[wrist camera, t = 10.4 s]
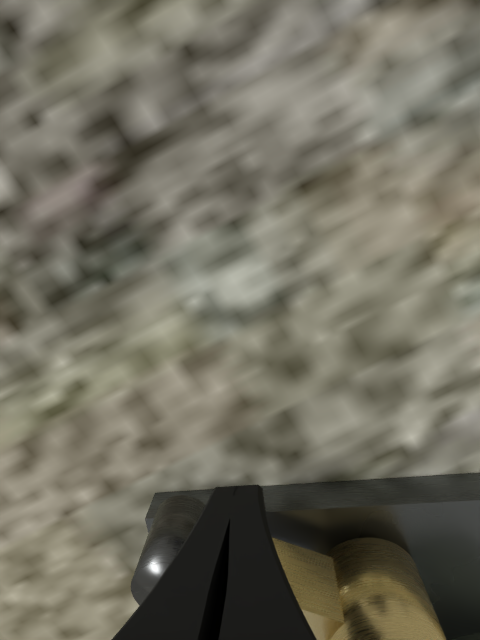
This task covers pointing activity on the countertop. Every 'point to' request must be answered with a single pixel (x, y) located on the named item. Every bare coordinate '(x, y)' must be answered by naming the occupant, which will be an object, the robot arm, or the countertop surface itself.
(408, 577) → the lever
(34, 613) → the countertop surface
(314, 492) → the plate
